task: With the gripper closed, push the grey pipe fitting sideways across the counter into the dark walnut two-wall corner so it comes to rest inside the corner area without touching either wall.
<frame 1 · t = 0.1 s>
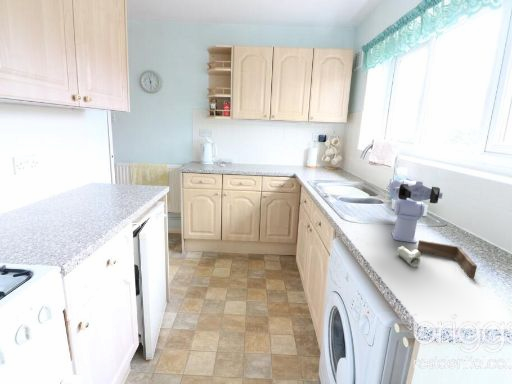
hand: (422, 196, 93), 22 cm above the countertop, tool horizontal, fingers open, 7 cm apart
pipe fitting: (411, 262, 95), on the countertop
corner arena: (456, 257, 100), on the countertop
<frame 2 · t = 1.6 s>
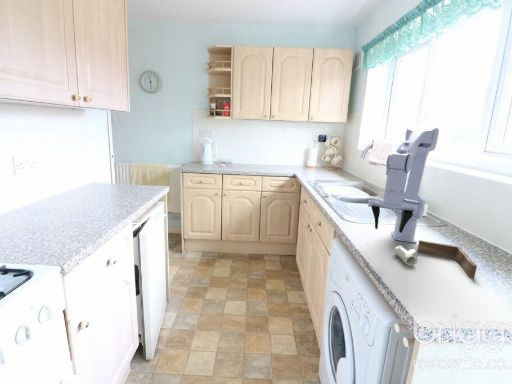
hand: (388, 229, 96), 9 cm above the countertop, tool pointing down, fingers open, 7 cm apart
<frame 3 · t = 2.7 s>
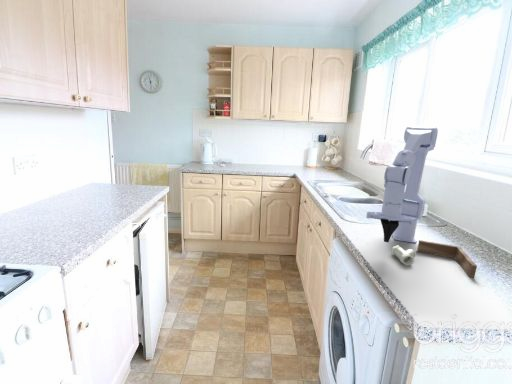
hand: (386, 241, 97), 5 cm above the countertop, tool pointing down, fingers closed
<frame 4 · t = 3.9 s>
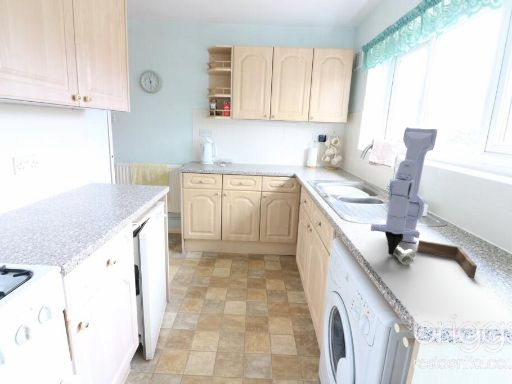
hand: (390, 253, 97), 1 cm above the countertop, tool pointing down, fingers closed
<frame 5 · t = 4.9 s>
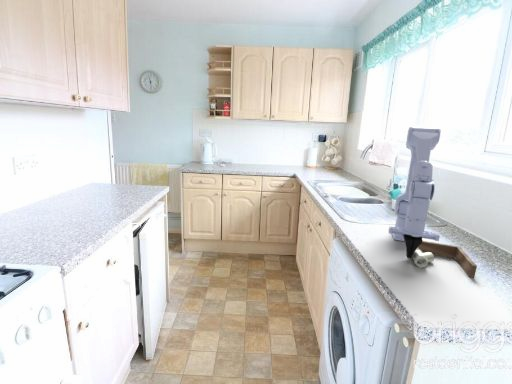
hand: (408, 256, 95), 1 cm above the countertop, tool pointing down, fingers closed
pipe fitting: (422, 263, 94), on the countertop, touching gripper
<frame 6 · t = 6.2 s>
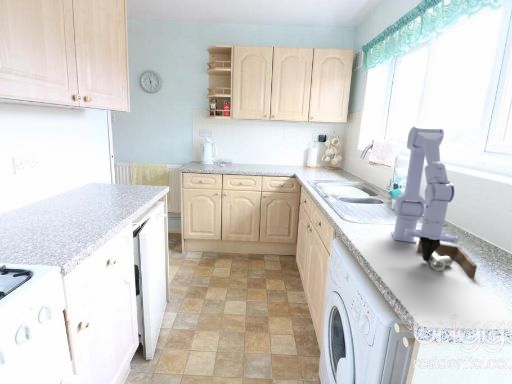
hand: (425, 259, 94), 1 cm above the countertop, tool pointing down, fingers closed
pipe fitting: (439, 267, 93), on the countertop
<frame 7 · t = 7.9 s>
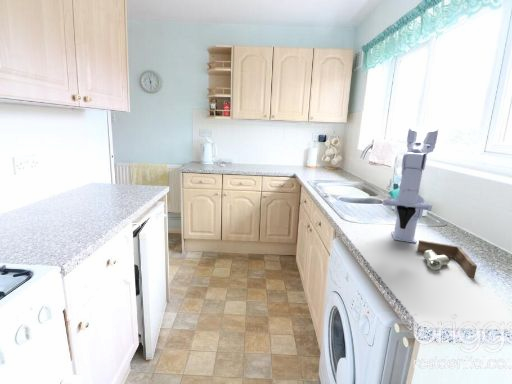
hand: (402, 227, 98), 10 cm above the countertop, tool pointing down, fingers closed
nothing on the countertop moved.
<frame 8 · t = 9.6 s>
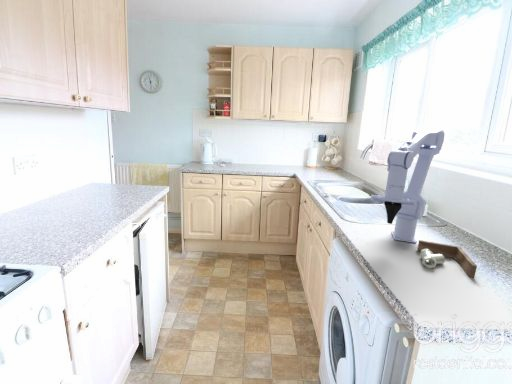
hand: (389, 222, 102), 10 cm above the countertop, tool pointing down, fingers closed
pipe fitting: (432, 265, 94), on the countertop
at the end: pipe fitting inside the target area (3.2 cm from its centre), on the countertop; pipe fitting touching countertop; pipe fitting moved 5.9 cm from its start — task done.
